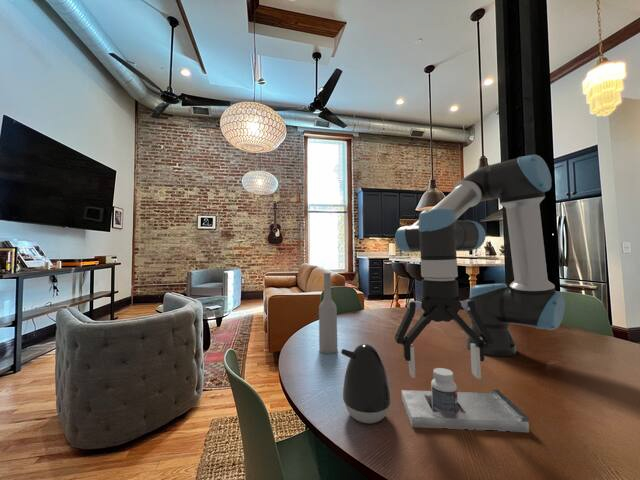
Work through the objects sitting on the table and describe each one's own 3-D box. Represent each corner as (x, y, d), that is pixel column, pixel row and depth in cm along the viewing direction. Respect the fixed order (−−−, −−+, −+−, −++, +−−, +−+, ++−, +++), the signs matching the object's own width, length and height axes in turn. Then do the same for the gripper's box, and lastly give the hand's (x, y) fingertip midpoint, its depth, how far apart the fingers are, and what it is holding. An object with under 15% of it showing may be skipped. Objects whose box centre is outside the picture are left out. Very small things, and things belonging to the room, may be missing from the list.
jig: (498, 402, 64) (497, 389, 65) (529, 432, 54) (528, 417, 54) (401, 398, 67) (401, 386, 67) (412, 427, 56) (411, 412, 56)
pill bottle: (461, 421, 57) (459, 377, 58) (434, 419, 58) (433, 376, 59) (454, 407, 63) (452, 367, 63) (429, 405, 64) (428, 366, 64)
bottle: (320, 347, 104) (319, 272, 106) (337, 347, 104) (336, 272, 105) (318, 353, 98) (317, 273, 99) (337, 354, 97) (335, 273, 98)
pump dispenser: (339, 404, 64) (337, 338, 65) (382, 402, 65) (380, 336, 66) (346, 433, 54) (345, 354, 55) (398, 429, 55) (396, 351, 56)
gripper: (489, 275, 64) (494, 368, 64) (380, 278, 67) (384, 367, 66) (508, 279, 57) (514, 384, 56) (384, 281, 59) (388, 382, 59)
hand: (443, 375), depth 61 cm, fingers open, 13 cm apart
